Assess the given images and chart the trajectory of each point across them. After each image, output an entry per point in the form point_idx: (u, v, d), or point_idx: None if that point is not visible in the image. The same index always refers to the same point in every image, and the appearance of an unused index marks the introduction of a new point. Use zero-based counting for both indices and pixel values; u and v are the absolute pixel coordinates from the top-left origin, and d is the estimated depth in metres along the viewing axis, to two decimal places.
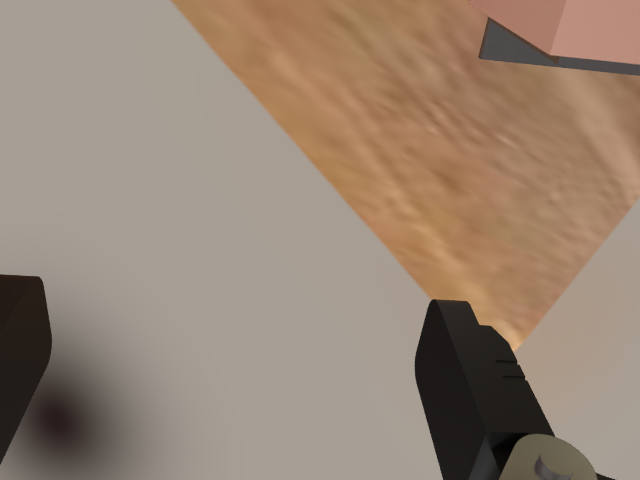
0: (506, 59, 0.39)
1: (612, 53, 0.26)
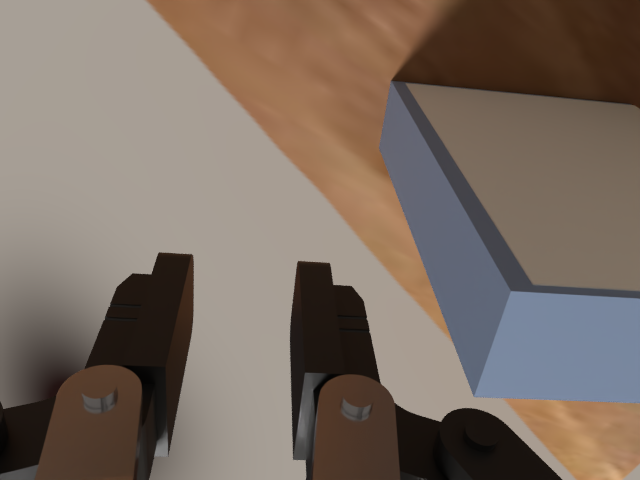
0: None
1: None
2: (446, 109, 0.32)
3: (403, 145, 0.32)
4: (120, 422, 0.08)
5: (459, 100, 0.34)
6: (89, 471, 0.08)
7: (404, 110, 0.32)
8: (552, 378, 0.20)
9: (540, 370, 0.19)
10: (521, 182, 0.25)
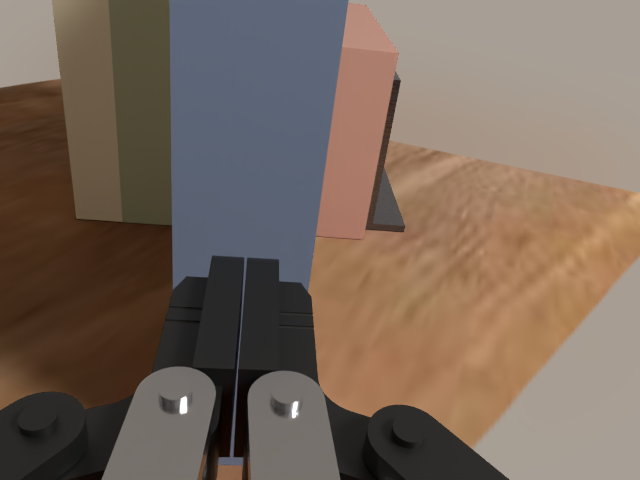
0: (399, 214, 0.44)
1: (385, 40, 0.37)
2: None
3: None
4: (199, 423, 0.08)
5: None
6: (155, 472, 0.08)
7: None
8: None
9: None
10: None
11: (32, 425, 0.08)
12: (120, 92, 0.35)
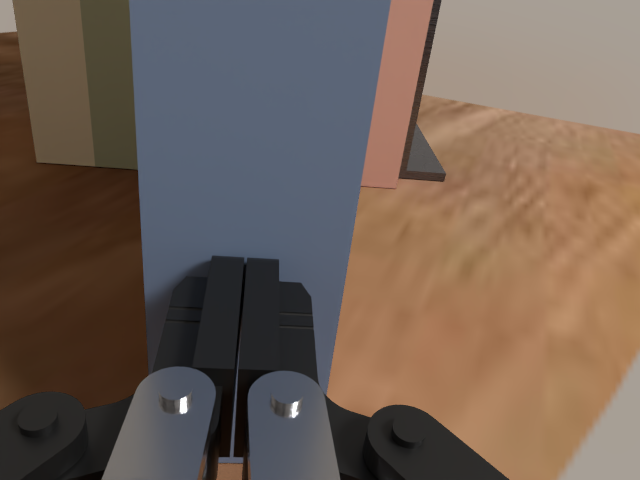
0: (436, 161, 0.36)
1: None
2: None
3: None
4: (199, 423, 0.08)
5: None
6: (155, 472, 0.08)
7: (157, 327, 0.14)
8: None
9: None
10: None
11: (32, 425, 0.08)
12: None
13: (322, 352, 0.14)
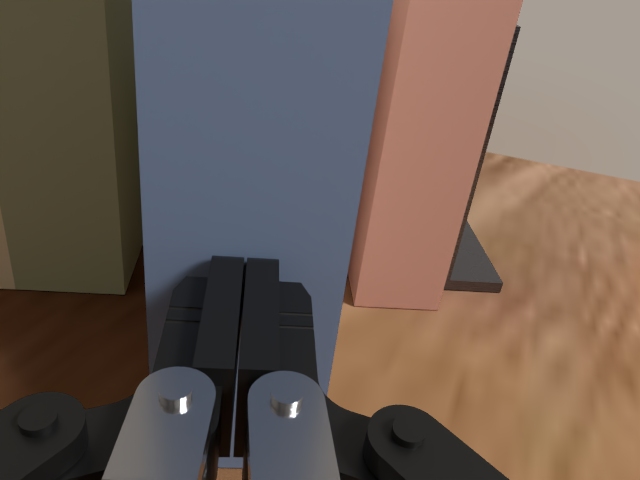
0: (487, 261, 0.27)
1: None
2: None
3: None
4: (199, 423, 0.08)
5: None
6: (155, 472, 0.08)
7: (158, 333, 0.14)
8: None
9: None
10: None
11: (32, 425, 0.08)
12: None
13: (322, 359, 0.15)
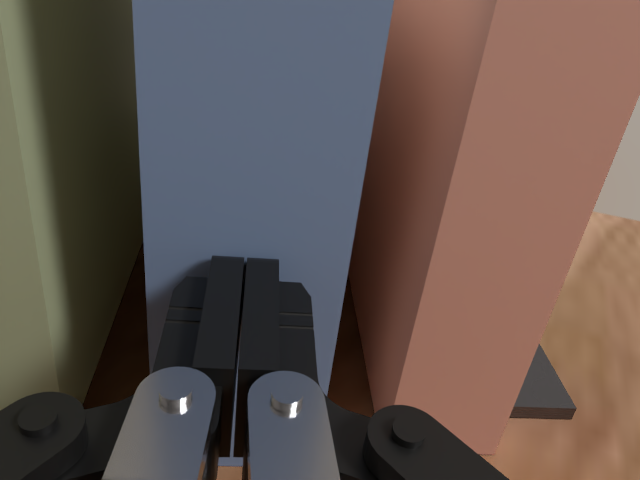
0: (551, 371, 0.21)
1: None
2: None
3: None
4: (199, 424, 0.08)
5: None
6: (155, 472, 0.08)
7: (159, 331, 0.14)
8: None
9: None
10: None
11: (32, 425, 0.08)
12: None
13: (322, 357, 0.14)
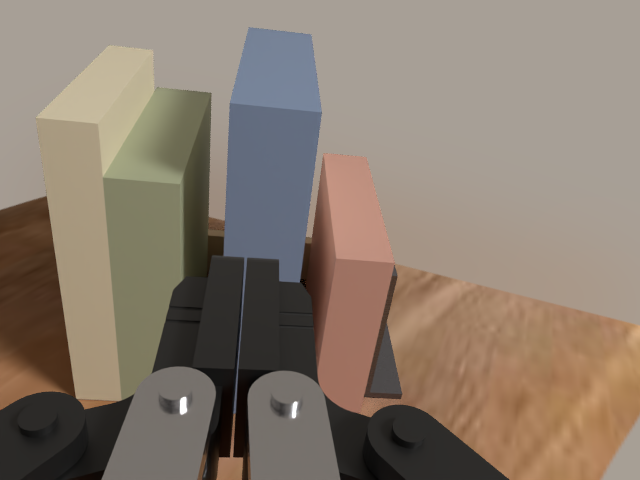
0: (396, 376, 0.44)
1: (382, 236, 0.37)
2: None
3: None
4: (199, 423, 0.08)
5: None
6: (155, 472, 0.08)
7: None
8: (300, 93, 0.31)
9: (294, 96, 0.30)
10: None
11: (32, 425, 0.08)
12: (119, 298, 0.35)
13: None
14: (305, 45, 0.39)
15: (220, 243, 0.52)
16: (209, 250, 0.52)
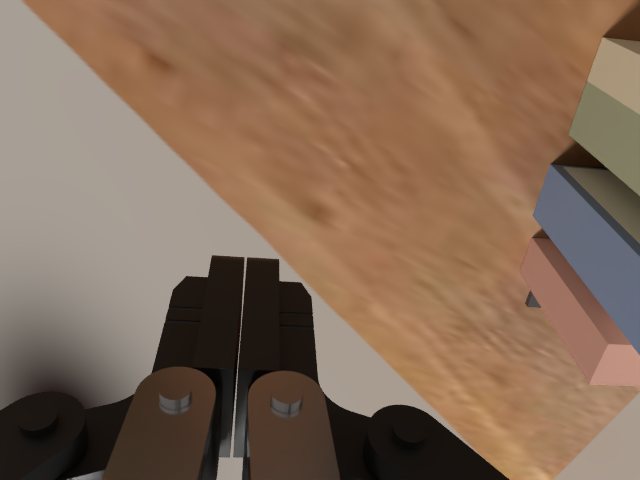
0: None
1: (631, 382, 0.39)
2: (610, 195, 0.41)
3: (577, 224, 0.40)
4: (199, 424, 0.08)
5: (614, 184, 0.42)
6: (155, 472, 0.08)
7: (576, 196, 0.41)
8: None
9: None
10: None
11: (32, 425, 0.08)
12: None
13: (554, 240, 0.43)
14: None
15: None
16: None
